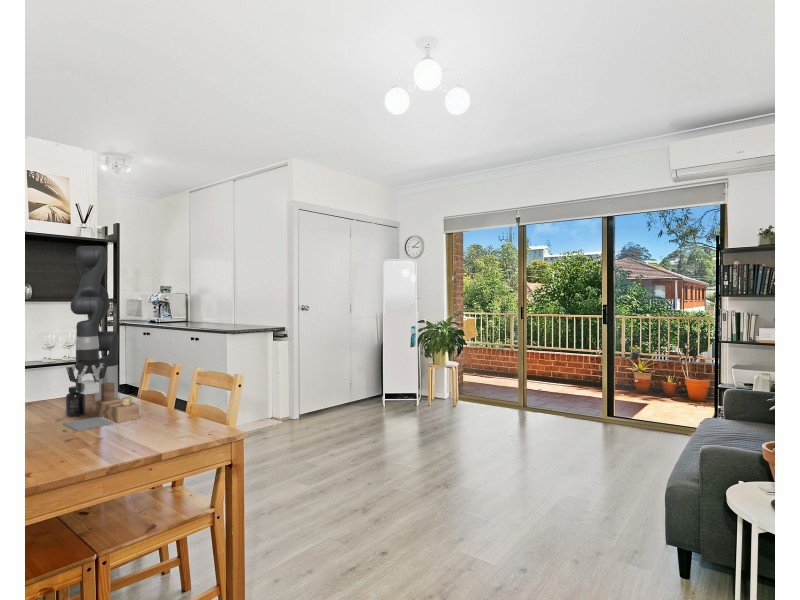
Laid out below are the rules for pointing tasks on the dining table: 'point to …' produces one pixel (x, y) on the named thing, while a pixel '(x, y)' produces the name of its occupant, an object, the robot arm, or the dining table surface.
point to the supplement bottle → (75, 403)
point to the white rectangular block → (89, 387)
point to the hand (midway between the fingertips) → (87, 391)
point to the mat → (87, 423)
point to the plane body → (115, 405)
